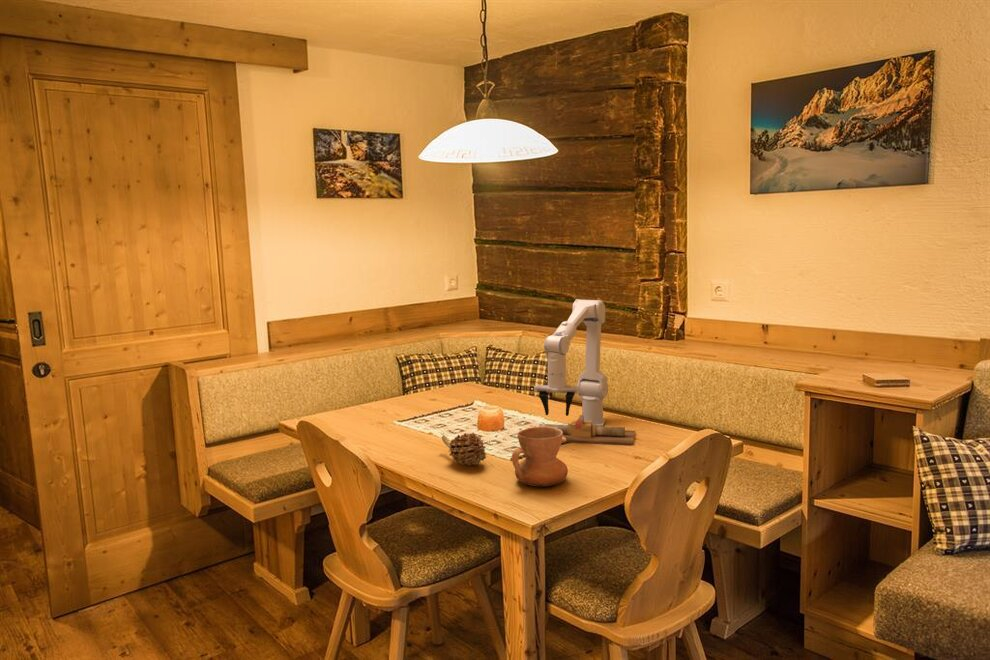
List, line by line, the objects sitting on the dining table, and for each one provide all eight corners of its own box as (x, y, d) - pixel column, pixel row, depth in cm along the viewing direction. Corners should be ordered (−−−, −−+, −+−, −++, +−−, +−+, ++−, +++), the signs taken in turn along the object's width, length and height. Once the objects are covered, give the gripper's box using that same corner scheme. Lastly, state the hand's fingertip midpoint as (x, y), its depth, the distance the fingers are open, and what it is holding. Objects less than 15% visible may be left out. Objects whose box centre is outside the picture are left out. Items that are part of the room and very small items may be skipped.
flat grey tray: (534, 428, 255) (534, 415, 254) (634, 433, 247) (635, 419, 247) (527, 440, 241) (527, 426, 241) (633, 445, 234) (633, 430, 233)
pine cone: (496, 467, 216) (495, 434, 215) (470, 475, 210) (469, 441, 209) (451, 450, 233) (450, 419, 232) (426, 457, 227) (425, 425, 226)
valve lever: (579, 421, 245) (579, 414, 244) (584, 421, 244) (584, 414, 244) (575, 430, 234) (575, 423, 233) (581, 430, 233) (581, 423, 233)
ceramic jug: (550, 468, 214) (548, 420, 212) (582, 482, 202) (581, 431, 200) (498, 482, 205) (496, 432, 203) (528, 497, 193) (526, 445, 191)
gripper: (532, 375, 232) (532, 417, 234) (578, 376, 229) (578, 418, 231) (535, 370, 239) (536, 411, 241) (580, 371, 236) (580, 413, 238)
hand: (557, 414), depth 237 cm, fingers open, 6 cm apart
